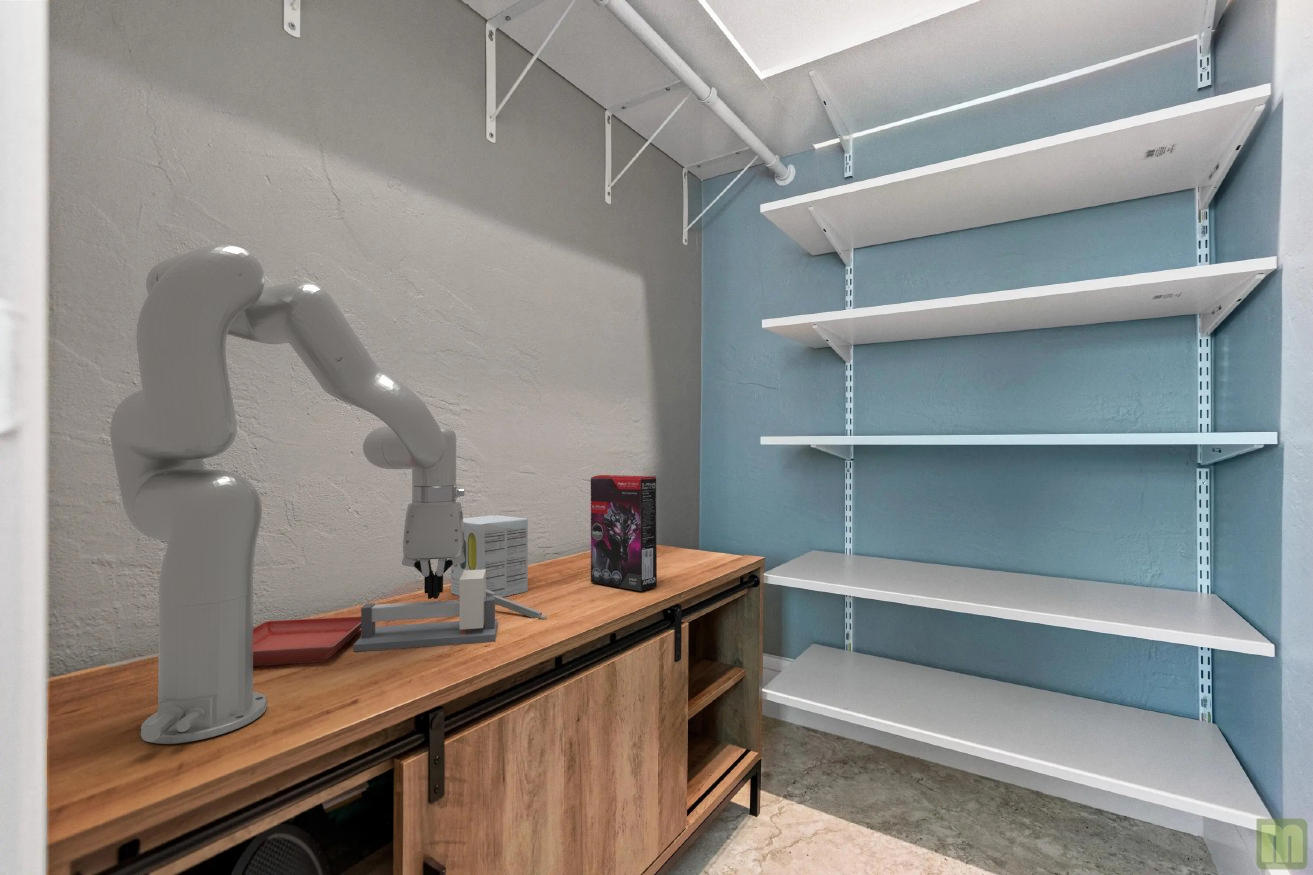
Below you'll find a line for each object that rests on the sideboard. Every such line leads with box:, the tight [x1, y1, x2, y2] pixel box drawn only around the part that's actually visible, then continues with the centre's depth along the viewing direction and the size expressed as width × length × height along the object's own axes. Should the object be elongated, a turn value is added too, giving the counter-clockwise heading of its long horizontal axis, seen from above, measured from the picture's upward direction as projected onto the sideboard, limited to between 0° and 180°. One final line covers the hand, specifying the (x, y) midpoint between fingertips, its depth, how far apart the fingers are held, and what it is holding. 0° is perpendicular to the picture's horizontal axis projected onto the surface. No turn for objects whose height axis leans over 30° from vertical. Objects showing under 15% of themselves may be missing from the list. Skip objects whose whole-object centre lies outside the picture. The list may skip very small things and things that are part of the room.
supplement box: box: [450, 514, 529, 598], centre depth 140 cm, size 13×13×18 cm
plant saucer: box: [253, 615, 361, 667], centre depth 101 cm, size 18×18×3 cm
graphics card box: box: [590, 474, 658, 592], centre depth 146 cm, size 17×7×27 cm, turn 53°
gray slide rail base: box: [353, 596, 498, 653], centre depth 107 cm, size 10×23×6 cm, turn 103°
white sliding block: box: [459, 569, 486, 630], centre depth 108 cm, size 8×4×9 cm, turn 13°
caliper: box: [486, 589, 548, 620], centre depth 122 cm, size 20×1×6 cm, turn 65°
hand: (433, 596), depth 107 cm, fingers closed
